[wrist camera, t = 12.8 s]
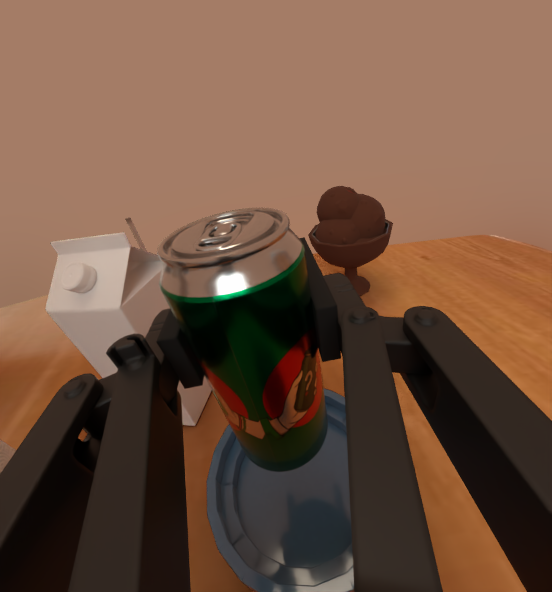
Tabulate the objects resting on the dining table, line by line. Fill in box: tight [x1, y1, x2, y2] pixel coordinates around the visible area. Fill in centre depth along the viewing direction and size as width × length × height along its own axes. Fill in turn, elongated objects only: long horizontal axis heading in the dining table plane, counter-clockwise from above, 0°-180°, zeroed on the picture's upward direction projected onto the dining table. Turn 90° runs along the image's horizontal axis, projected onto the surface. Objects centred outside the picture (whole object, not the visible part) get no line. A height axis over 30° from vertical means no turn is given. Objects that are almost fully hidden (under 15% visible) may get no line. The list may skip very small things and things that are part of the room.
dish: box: [207, 389, 354, 592], centre depth 20 cm, size 13×13×3 cm
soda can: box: [157, 208, 328, 472], centre depth 12 cm, size 5×5×12 cm
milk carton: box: [45, 232, 212, 426], centre depth 25 cm, size 7×7×19 cm
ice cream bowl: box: [309, 186, 393, 296], centre depth 37 cm, size 11×11×15 cm
